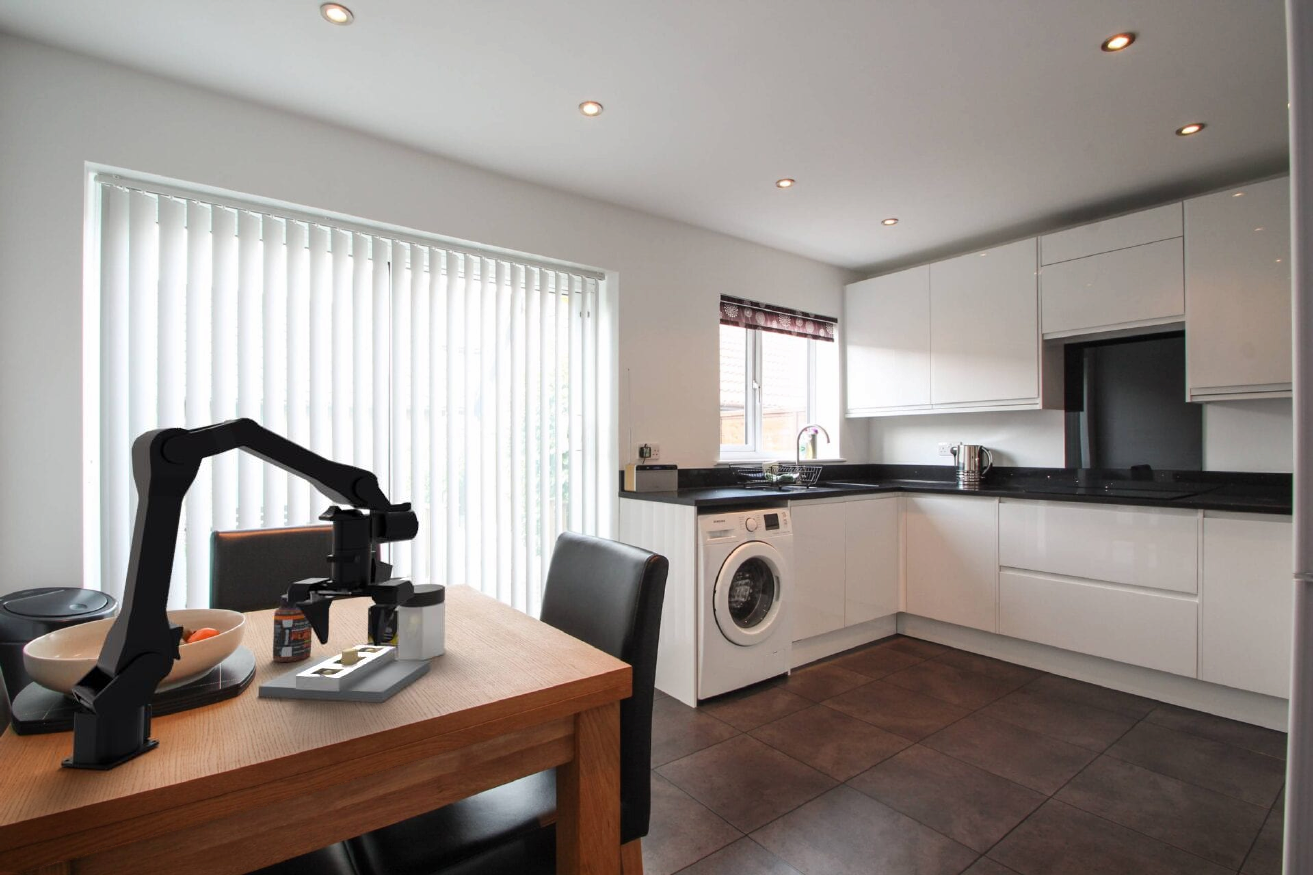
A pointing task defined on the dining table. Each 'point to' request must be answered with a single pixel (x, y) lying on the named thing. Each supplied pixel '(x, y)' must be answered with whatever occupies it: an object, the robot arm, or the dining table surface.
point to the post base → (365, 689)
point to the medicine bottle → (392, 627)
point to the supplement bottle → (290, 633)
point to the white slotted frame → (345, 669)
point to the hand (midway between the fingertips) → (350, 644)
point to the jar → (422, 623)
